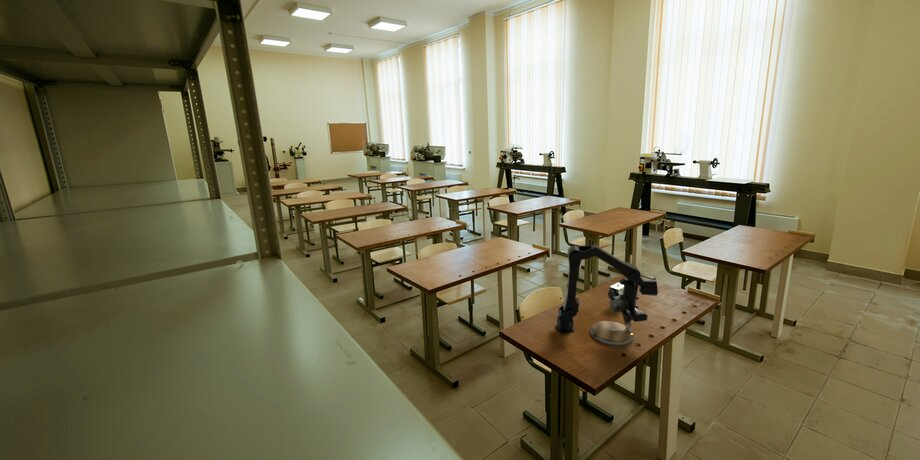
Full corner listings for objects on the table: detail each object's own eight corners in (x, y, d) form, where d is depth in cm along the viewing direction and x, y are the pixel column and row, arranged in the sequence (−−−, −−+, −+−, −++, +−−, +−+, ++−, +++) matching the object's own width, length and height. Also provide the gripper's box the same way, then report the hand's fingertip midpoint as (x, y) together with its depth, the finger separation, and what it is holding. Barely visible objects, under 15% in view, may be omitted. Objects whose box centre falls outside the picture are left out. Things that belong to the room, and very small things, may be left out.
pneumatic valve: (606, 307, 198) (607, 285, 195) (618, 300, 205) (620, 279, 202) (616, 311, 194) (618, 289, 191) (628, 304, 201) (630, 282, 198)
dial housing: (606, 349, 162) (606, 346, 162) (582, 328, 179) (582, 325, 179) (642, 341, 167) (642, 338, 167) (615, 322, 184) (615, 319, 183)
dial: (593, 339, 167) (594, 328, 166) (591, 321, 182) (592, 311, 181) (633, 344, 163) (634, 332, 162) (628, 325, 178) (629, 315, 176)
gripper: (601, 286, 175) (598, 317, 180) (626, 305, 158) (622, 339, 162) (623, 284, 177) (620, 314, 182) (650, 302, 160) (646, 335, 164)
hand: (626, 325), depth 172 cm, fingers closed
